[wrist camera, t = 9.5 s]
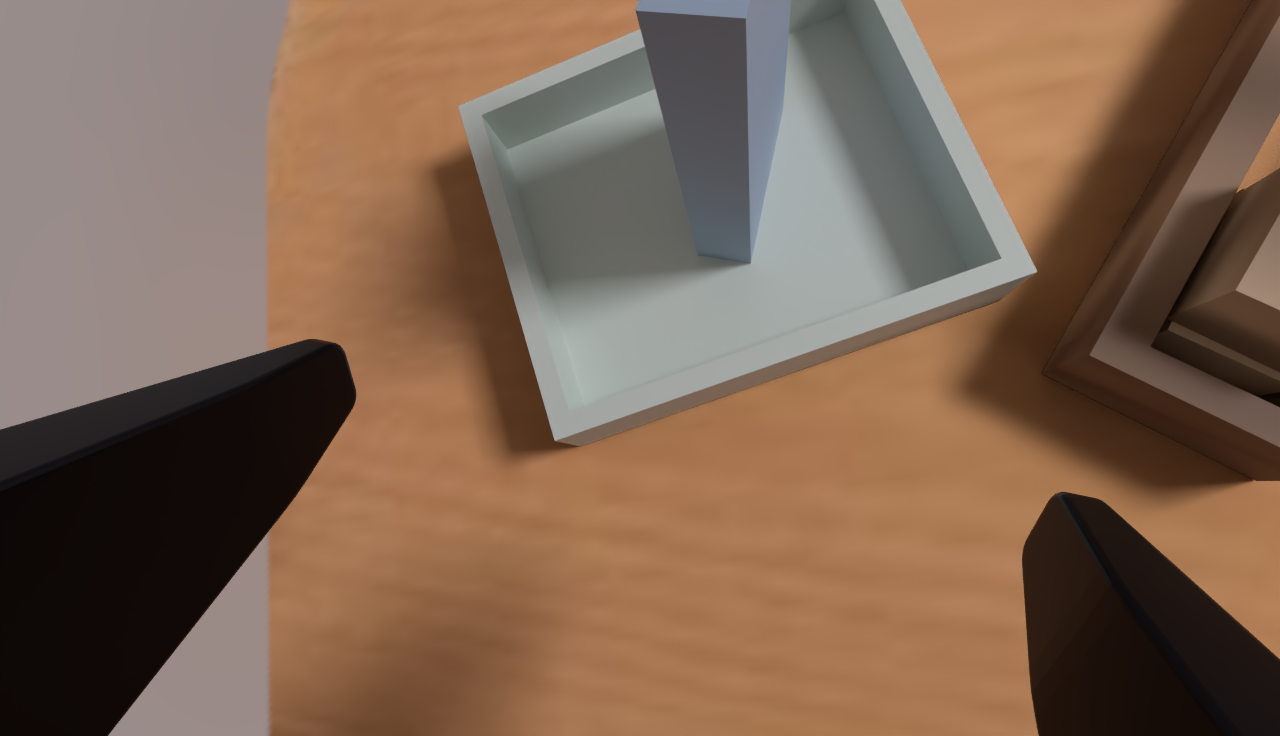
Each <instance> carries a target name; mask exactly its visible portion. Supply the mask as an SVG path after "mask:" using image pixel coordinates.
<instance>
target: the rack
mask: <svg viewBox="0 0 1280 736" xmlns="http://www.w3.org/2000/svg"><path fill="white" fill-rule="evenodd" d="M1279 114H1280V0H1252V2H1251V4H1250V5H1249V7H1248V9H1247V11H1246V12H1245V14H1244V16H1243V18H1242V20H1241V21H1240V23H1239V25H1238V27H1237V28H1236V30H1235V32H1234V34H1233V35H1232V37H1231V39H1230V41H1229V43H1228V44H1227V46H1226V48H1225V50H1224V51H1223V53H1222V55H1221V57H1220V58H1219V60H1218V62H1217V64H1216V66H1215V67H1214V69H1213V71H1212V73H1211V74H1210V76H1209V78H1208V80H1207V81H1206V83H1205V85H1204V87H1203V89H1202V90H1201V92H1200V94H1199V96H1198V97H1197V99H1196V101H1195V103H1194V104H1193V106H1192V108H1191V110H1190V112H1189V113H1188V115H1187V117H1186V119H1185V120H1184V122H1183V124H1182V126H1181V127H1180V129H1179V131H1178V133H1177V135H1176V136H1175V138H1174V140H1173V142H1172V143H1171V145H1170V147H1169V149H1168V150H1167V152H1166V154H1165V156H1164V158H1163V159H1162V161H1161V163H1160V165H1159V166H1158V168H1157V170H1156V172H1155V173H1154V175H1153V177H1152V179H1151V181H1150V182H1149V184H1148V186H1147V188H1146V189H1145V191H1144V193H1143V195H1142V196H1141V198H1140V200H1139V202H1138V204H1137V205H1136V207H1135V209H1134V211H1133V212H1132V214H1131V216H1130V218H1129V219H1128V221H1127V223H1126V225H1125V226H1124V228H1123V230H1122V232H1121V234H1120V235H1119V237H1118V239H1117V241H1116V242H1115V244H1114V246H1113V248H1112V249H1111V251H1110V253H1109V255H1108V257H1107V258H1106V260H1105V262H1104V264H1103V265H1102V267H1101V269H1100V271H1099V272H1098V274H1097V276H1096V278H1095V280H1094V281H1093V283H1092V285H1091V287H1090V288H1089V290H1088V292H1087V294H1086V295H1085V297H1084V299H1083V301H1082V303H1081V304H1080V306H1079V308H1078V310H1077V311H1076V313H1075V315H1074V317H1073V318H1072V320H1071V322H1070V324H1069V326H1068V327H1067V329H1066V331H1065V333H1064V334H1063V336H1062V338H1061V340H1060V341H1059V343H1058V345H1057V347H1056V349H1055V350H1054V352H1053V354H1052V356H1051V357H1050V359H1049V361H1048V363H1047V364H1046V366H1045V368H1044V370H1043V372H1042V373H1041V374H1043V375H1045V376H1047V377H1049V378H1051V379H1053V380H1055V381H1057V382H1059V383H1061V384H1063V385H1065V386H1067V387H1069V388H1071V389H1073V390H1075V391H1077V392H1079V393H1081V394H1083V395H1085V396H1087V397H1089V398H1091V399H1093V400H1095V401H1097V402H1099V403H1101V404H1103V405H1105V406H1107V407H1109V408H1111V409H1113V410H1115V411H1117V412H1119V413H1121V414H1123V415H1125V416H1127V417H1130V418H1132V419H1134V420H1136V421H1138V422H1140V423H1142V424H1144V425H1146V426H1148V427H1150V428H1152V429H1154V430H1156V431H1158V432H1160V433H1162V434H1164V435H1166V436H1168V437H1170V438H1172V439H1174V440H1176V441H1178V442H1180V443H1182V444H1184V445H1186V446H1188V447H1190V448H1192V449H1194V450H1196V451H1198V452H1200V453H1202V454H1204V455H1206V456H1208V457H1210V458H1212V459H1214V460H1216V461H1218V462H1220V463H1222V464H1224V465H1226V466H1228V467H1230V468H1232V469H1234V470H1236V471H1238V472H1240V473H1242V474H1244V475H1246V476H1248V477H1250V478H1252V479H1254V480H1256V481H1280V392H1278V393H1272V394H1266V395H1260V396H1254V395H1252V394H1250V393H1248V392H1246V391H1244V390H1241V389H1239V388H1237V387H1235V386H1233V385H1231V384H1229V383H1227V382H1224V381H1222V380H1220V379H1218V378H1216V377H1214V376H1212V375H1209V374H1207V373H1205V372H1203V371H1201V370H1199V369H1197V368H1194V367H1192V366H1190V365H1188V364H1186V363H1184V362H1182V361H1180V360H1177V359H1175V358H1173V357H1171V356H1169V355H1167V354H1165V353H1162V352H1160V351H1158V350H1156V349H1154V348H1152V347H1150V346H1151V345H1152V343H1153V341H1154V339H1155V337H1156V336H1157V334H1158V332H1159V330H1160V328H1161V327H1162V325H1163V323H1164V321H1165V319H1166V318H1167V316H1168V314H1169V312H1170V310H1171V309H1172V307H1173V305H1174V303H1175V301H1176V300H1177V298H1178V296H1179V294H1180V292H1181V291H1182V289H1183V287H1184V285H1185V283H1186V281H1187V280H1188V278H1189V276H1190V274H1191V272H1192V271H1193V269H1194V267H1195V265H1196V263H1197V262H1198V260H1199V258H1200V256H1201V254H1202V253H1203V251H1204V249H1205V247H1206V245H1207V244H1208V242H1209V240H1210V238H1211V236H1212V235H1213V233H1214V231H1215V229H1216V227H1217V226H1218V224H1219V222H1220V220H1221V218H1222V217H1223V215H1224V213H1225V211H1226V209H1227V208H1228V206H1229V204H1230V202H1231V200H1232V199H1233V197H1234V195H1235V193H1236V191H1237V190H1238V188H1239V186H1240V184H1241V182H1242V181H1243V179H1244V177H1245V175H1246V173H1247V171H1248V170H1249V168H1250V166H1251V164H1252V162H1253V161H1254V159H1255V157H1256V155H1257V153H1258V152H1259V150H1260V148H1261V146H1262V144H1263V143H1264V141H1265V139H1266V137H1267V135H1268V134H1269V132H1270V130H1271V128H1272V126H1273V125H1274V123H1275V121H1276V119H1277V117H1278V116H1279Z"/></svg>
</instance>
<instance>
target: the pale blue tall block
mask: <svg viewBox="0 0 1280 736" xmlns="http://www.w3.org/2000/svg"><path fill="white" fill-rule="evenodd" d="M790 9H791V0H638V4H637V8H636V13H637V17H638V21H639V25H640V29H641V33H642V37H643V41H644V45H645V49H646V53H647V57H648V61H649V65H650V69H651V73H652V77H653V81H654V85H655V89H656V93H657V96H658V100H659V104H660V108H661V112H662V116H663V120H664V124H665V128H666V132H667V136H668V140H669V144H670V148H671V152H672V156H673V160H674V164H675V168H676V172H677V176H678V180H679V184H680V187H681V191H682V195H683V199H684V203H685V207H686V211H687V215H688V219H689V223H690V227H691V231H692V235H693V239H694V243H695V247H696V251H697V255H699V256H706V257H712V258H719V259H725V260H732V261H738V262H745V263H751V260H752V255H753V251H754V246H755V241H756V236H757V231H758V227H759V222H760V217H761V212H762V208H763V203H764V198H765V193H766V188H767V184H768V179H769V174H770V169H771V164H772V160H773V155H774V150H775V145H776V140H777V136H778V131H779V126H780V121H781V117H782V112H783V103H784V90H785V76H786V63H787V50H788V36H789V23H790Z"/></svg>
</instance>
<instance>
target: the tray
mask: <svg viewBox="0 0 1280 736" xmlns="http://www.w3.org/2000/svg"><path fill="white" fill-rule="evenodd" d="M458 107H459V110H460V113H461V117H462V120H463V124H464V127H465V131H466V134H467V138H468V141H469V145H470V148H471V152H472V155H473V159H474V162H475V166H476V169H477V173H478V176H479V180H480V183H481V186H482V190H483V193H484V197H485V200H486V204H487V207H488V211H489V214H490V218H491V221H492V225H493V228H494V232H495V235H496V239H497V242H498V246H499V249H500V253H501V256H502V259H503V263H504V266H505V270H506V273H507V277H508V280H509V284H510V287H511V291H512V294H513V298H514V301H515V305H516V308H517V312H518V315H519V319H520V322H521V326H522V329H523V332H524V336H525V339H526V343H527V346H528V350H529V353H530V357H531V360H532V364H533V367H534V371H535V374H536V378H537V381H538V385H539V388H540V392H541V395H542V399H543V402H544V405H545V409H546V412H547V416H548V419H549V423H550V426H551V430H552V433H553V437H554V440H555V441H557V442H562V443H567V444H572V445H576V446H583V445H586V444H589V443H592V442H595V441H597V440H600V439H603V438H606V437H609V436H612V435H615V434H618V433H620V432H623V431H626V430H629V429H632V428H635V427H638V426H641V425H643V424H646V423H649V422H652V421H655V420H658V419H661V418H664V417H666V416H669V415H672V414H675V413H678V412H681V411H684V410H687V409H690V408H692V407H695V406H698V405H701V404H704V403H707V402H710V401H713V400H715V399H718V398H721V397H724V396H727V395H730V394H733V393H736V392H738V391H741V390H744V389H747V388H750V387H753V386H756V385H759V384H761V383H764V382H767V381H770V380H773V379H776V378H779V377H782V376H784V375H787V374H790V373H793V372H796V371H799V370H802V369H805V368H807V367H810V366H813V365H816V364H819V363H822V362H825V361H828V360H830V359H833V358H836V357H839V356H842V355H845V354H848V353H851V352H854V351H856V350H859V349H862V348H865V347H868V346H871V345H874V344H877V343H879V342H882V341H885V340H888V339H891V338H894V337H897V336H900V335H902V334H905V333H908V332H911V331H914V330H917V329H920V328H923V327H925V326H928V325H931V324H934V323H937V322H940V321H943V320H946V319H948V318H951V317H954V316H957V315H960V314H963V313H966V312H969V311H971V310H974V309H977V308H980V307H983V306H986V305H989V304H992V303H994V302H997V301H999V300H1001V299H1002V298H1003V297H1005V296H1006V295H1007V294H1009V293H1010V292H1011V291H1013V290H1014V289H1015V288H1017V287H1018V286H1019V285H1021V284H1022V283H1023V282H1025V281H1026V280H1027V279H1029V278H1030V277H1031V276H1033V275H1034V274H1035V273H1037V270H1036V268H1035V266H1034V264H1033V262H1032V260H1031V258H1030V256H1029V254H1028V252H1027V250H1026V248H1025V246H1024V244H1023V242H1022V240H1021V238H1020V236H1019V234H1018V232H1017V230H1016V228H1015V226H1014V224H1013V222H1012V220H1011V218H1010V216H1009V214H1008V212H1007V210H1006V208H1005V206H1004V204H1003V202H1002V200H1001V198H1000V196H999V194H998V193H997V191H996V189H995V187H994V185H993V183H992V181H991V179H990V177H989V175H988V173H987V171H986V169H985V167H984V165H983V163H982V161H981V159H980V157H979V155H978V153H977V151H976V149H975V147H974V145H973V143H972V141H971V139H970V137H969V135H968V133H967V131H966V129H965V127H964V125H963V123H962V121H961V119H960V117H959V115H958V113H957V111H956V109H955V107H954V105H953V103H952V101H951V99H950V97H949V95H948V93H947V91H946V90H945V88H944V86H943V84H942V82H941V80H940V78H939V76H938V74H937V72H936V70H935V68H934V66H933V64H932V62H931V60H930V58H929V56H928V54H927V52H926V50H925V48H924V46H923V44H922V42H921V40H920V38H919V36H918V34H917V32H916V30H915V28H914V26H913V24H912V22H911V20H910V18H909V16H908V14H907V12H906V10H905V8H904V6H903V4H902V2H901V0H791V9H790V23H789V36H788V50H787V63H786V76H785V90H784V103H783V112H782V117H781V121H780V126H779V131H778V136H777V140H776V145H775V150H774V155H773V160H772V164H771V169H770V174H769V179H768V184H767V188H766V193H765V198H764V203H763V208H762V212H761V217H760V222H759V227H758V231H757V236H756V241H755V246H754V251H753V255H752V260H751V263H745V262H738V261H732V260H725V259H719V258H712V257H706V256H699V255H697V251H696V247H695V243H694V239H693V235H692V231H691V227H690V223H689V219H688V215H687V211H686V207H685V203H684V199H683V195H682V191H681V187H680V184H679V180H678V176H677V172H676V168H675V164H674V160H673V156H672V152H671V148H670V144H669V140H668V136H667V132H666V128H665V124H664V120H663V116H662V112H661V108H660V104H659V100H658V96H657V93H656V89H655V85H654V81H653V77H652V73H651V69H650V65H649V61H648V57H647V53H646V49H645V45H644V41H643V37H642V33H641V29H639V30H637V31H635V32H632V33H630V34H627V35H625V36H623V37H620V38H618V39H616V40H613V41H611V42H609V43H606V44H604V45H601V46H599V47H597V48H594V49H592V50H590V51H587V52H585V53H583V54H580V55H578V56H575V57H573V58H571V59H568V60H566V61H564V62H561V63H559V64H557V65H554V66H552V67H549V68H547V69H545V70H542V71H540V72H538V73H535V74H533V75H531V76H528V77H526V78H523V79H521V80H519V81H516V82H514V83H512V84H509V85H507V86H505V87H502V88H500V89H497V90H495V91H493V92H490V93H488V94H486V95H483V96H481V97H479V98H476V99H474V100H471V101H469V102H467V103H464V104H462V105H460V106H458Z"/></svg>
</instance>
